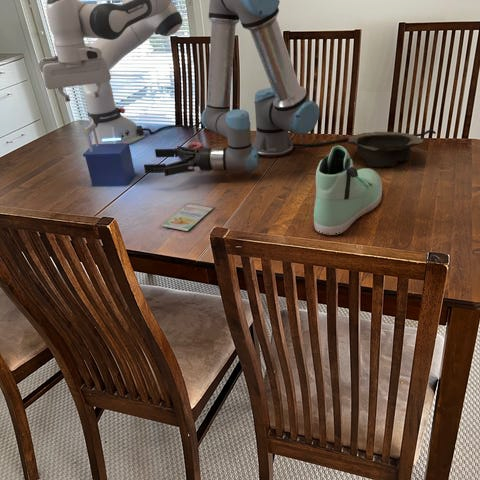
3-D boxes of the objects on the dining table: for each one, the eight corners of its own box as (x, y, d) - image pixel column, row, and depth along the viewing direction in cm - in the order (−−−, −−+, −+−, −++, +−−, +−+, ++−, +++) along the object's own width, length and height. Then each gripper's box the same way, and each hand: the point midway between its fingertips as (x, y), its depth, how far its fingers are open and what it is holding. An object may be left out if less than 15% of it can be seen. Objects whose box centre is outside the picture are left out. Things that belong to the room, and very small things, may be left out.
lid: (83, 156, 160) (76, 130, 155) (94, 146, 168) (88, 121, 163) (120, 155, 158) (114, 129, 154) (129, 145, 166) (124, 120, 162)
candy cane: (169, 157, 184) (168, 153, 183) (194, 144, 194) (193, 140, 193) (180, 159, 181) (180, 155, 180) (205, 146, 191) (205, 142, 190)
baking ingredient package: (160, 225, 137) (188, 203, 148) (161, 226, 137) (188, 204, 148) (187, 230, 133) (213, 207, 145) (187, 231, 133) (213, 208, 145)
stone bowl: (380, 178, 154) (381, 150, 149) (333, 160, 174) (332, 135, 170) (437, 159, 162) (439, 132, 158) (385, 144, 183) (386, 120, 178)
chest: (92, 186, 166) (85, 156, 160) (102, 174, 174) (95, 146, 168) (126, 185, 164) (120, 156, 158) (135, 174, 172) (129, 145, 166)
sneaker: (389, 187, 148) (396, 123, 138) (356, 242, 123) (361, 168, 112) (346, 181, 154) (350, 119, 144) (306, 232, 129) (307, 161, 118)
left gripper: (36, 60, 143) (48, 106, 150) (105, 51, 147) (115, 97, 154) (37, 56, 148) (50, 101, 155) (104, 48, 152) (113, 92, 159)
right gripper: (206, 185, 151) (141, 186, 154) (218, 155, 172) (161, 157, 175) (204, 163, 147) (137, 164, 150) (216, 135, 168) (158, 137, 171)
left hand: (82, 99), depth 155 cm, fingers open, 8 cm apart
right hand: (150, 160), depth 163 cm, fingers open, 13 cm apart
